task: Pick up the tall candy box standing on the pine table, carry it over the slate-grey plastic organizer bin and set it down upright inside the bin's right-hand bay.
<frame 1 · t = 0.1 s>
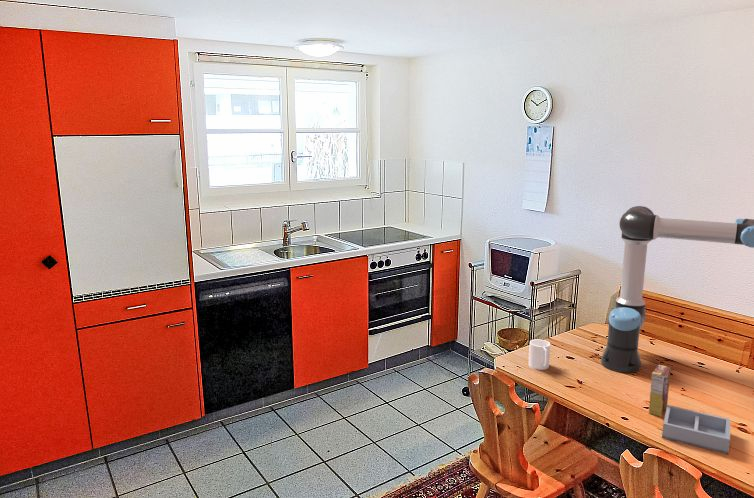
cup: (540, 367, 228), on the table
bin: (695, 435, 178), on the table
candy box: (657, 410, 193), on the table
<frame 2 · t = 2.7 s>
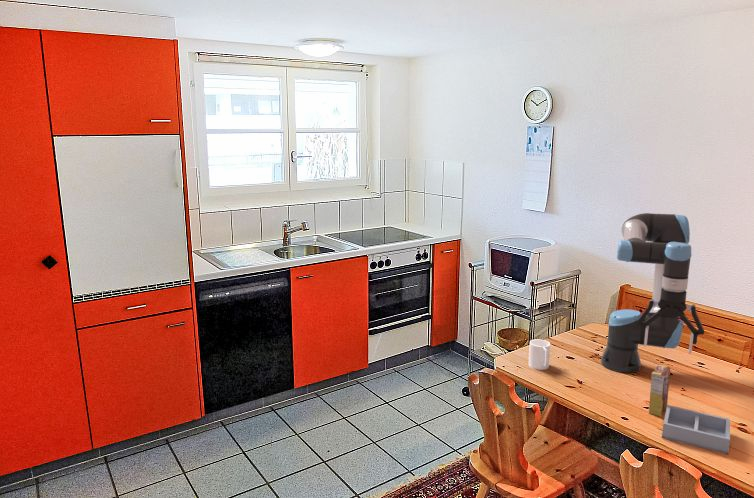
hand: (667, 348, 189), 23 cm above the table, fingers open, 13 cm apart
nothing on the table moved.
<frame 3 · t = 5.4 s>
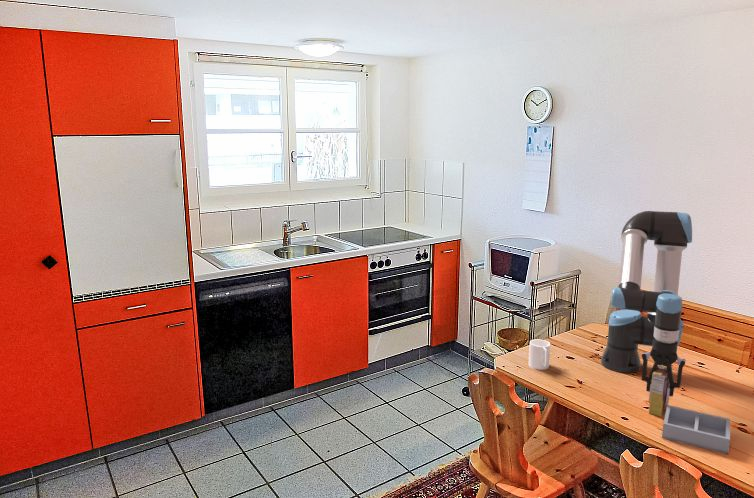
hand: (658, 401, 193), 3 cm above the table, fingers closed on candy box, 5 cm apart
candy box: (657, 410, 193), on the table, touching gripper
everything else where it was.
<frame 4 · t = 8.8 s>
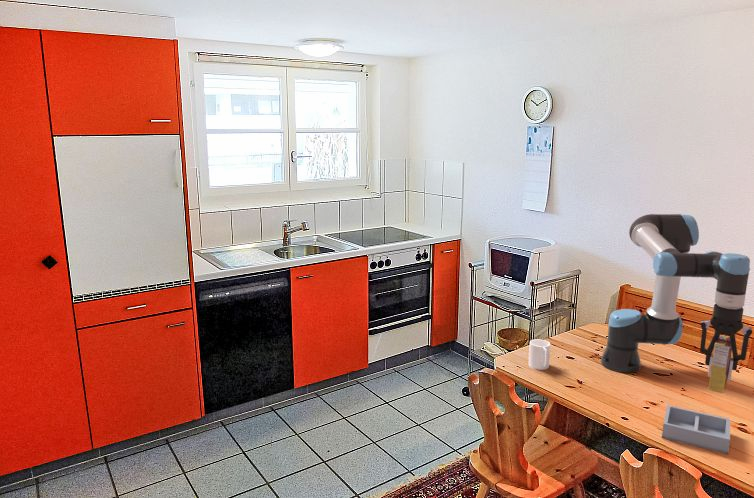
hand: (719, 376, 171), 22 cm above the table, fingers closed on candy box, 4 cm apart
candy box: (717, 386, 171), point 18 cm above the table, touching gripper
everything else where it was.
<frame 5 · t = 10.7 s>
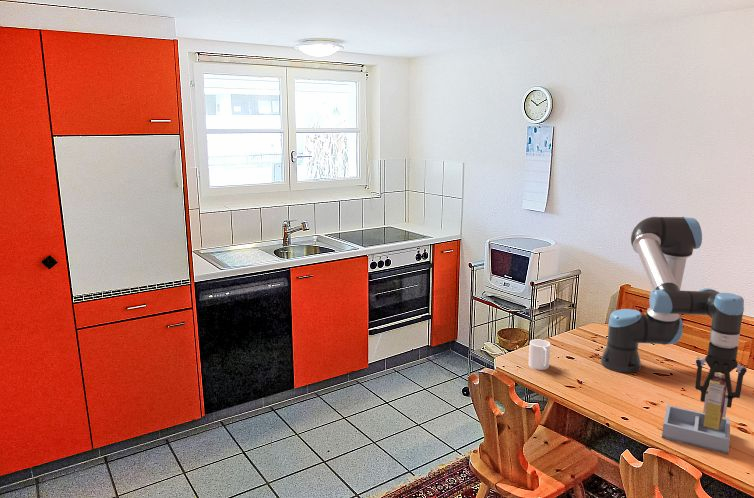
hand: (714, 413, 173), 9 cm above the table, fingers closed on candy box, 4 cm apart
candy box: (712, 423, 174), point 6 cm above the table, touching gripper
everything else where it was.
when the fingers open (6 cm above the table, at t = 12.2 s): candy box drops 2 cm, resting on bin.
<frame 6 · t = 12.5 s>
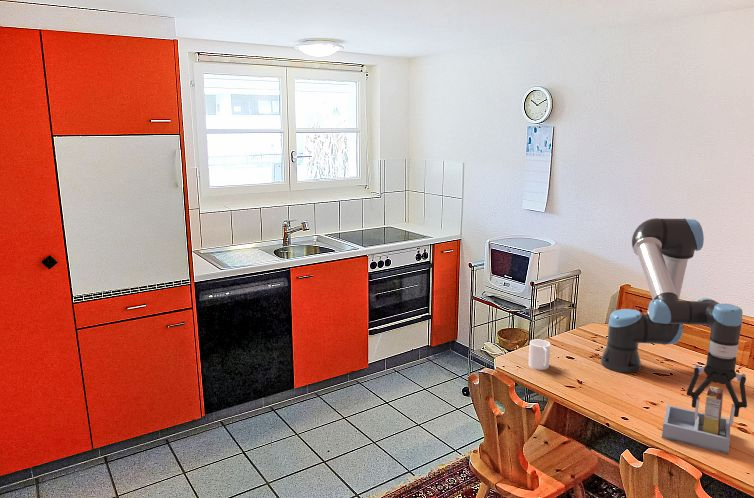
hand: (713, 420, 174), 6 cm above the table, fingers open, 9 cm apart
candy box: (710, 437, 175), point 1 cm above the table, touching bin
everything else where it was.
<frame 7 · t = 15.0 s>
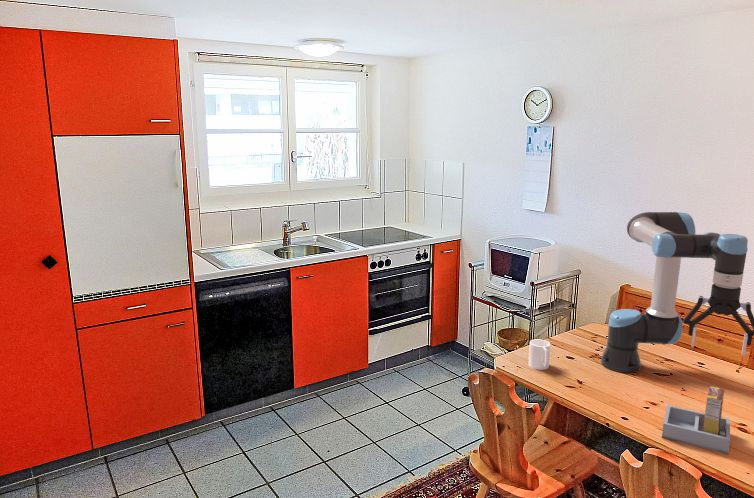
hand: (717, 349, 173), 29 cm above the table, fingers open, 13 cm apart
nothing on the table moved.
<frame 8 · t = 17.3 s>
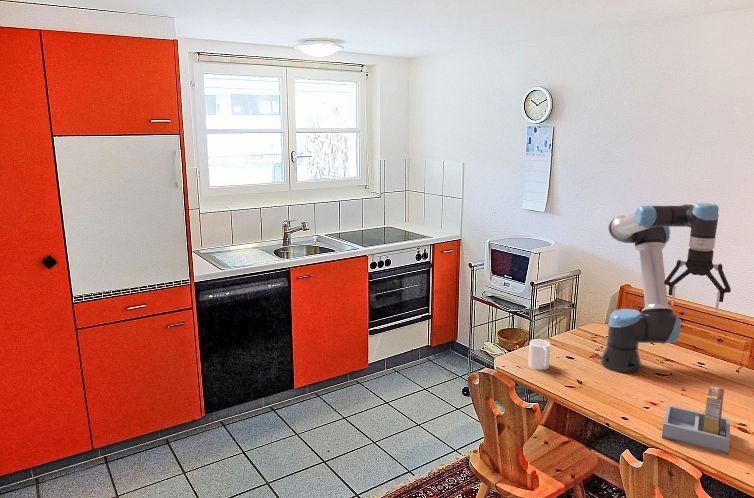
hand: (694, 307, 194), 35 cm above the table, fingers open, 13 cm apart
nothing on the table moved.
at the end: candy box inside the target area on the bin (0.0 cm from its centre), point 0.6 cm above the bin's base; candy box tilted 0°; the gripper is holding nothing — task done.
